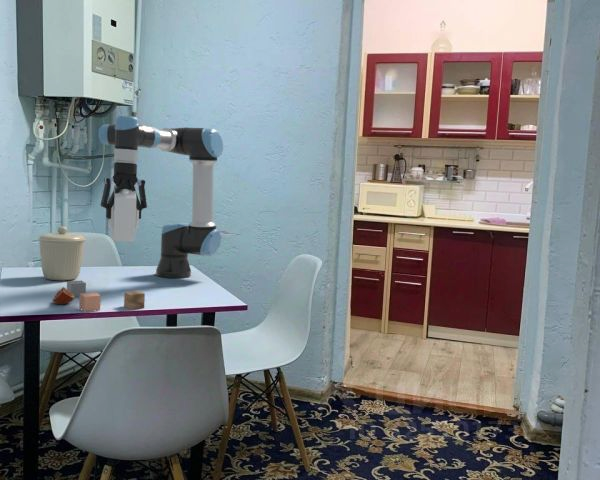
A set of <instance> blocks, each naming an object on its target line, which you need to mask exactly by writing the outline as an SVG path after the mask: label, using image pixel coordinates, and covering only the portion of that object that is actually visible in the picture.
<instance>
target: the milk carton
mask: <svg viewBox="0 0 600 480" xmlns="http://www.w3.org/2000/svg"><path fill="white" fill-rule="evenodd" d="M134 187H135V189H137V188H136V185H134ZM115 188H118V187H117V186H116V185H115V184H113V191H114V196H115V197H114V204H113V207H112V209H113V210H114V223H113V229H111V240H112V241H113V242H133V243H134V242H136V228H135V226H136V210H137V209H136V194H137V190H136V191H133V192H132V190H131V189H130V190H127V189H121V191H120V192H119V193H116V194H115Z"/></svg>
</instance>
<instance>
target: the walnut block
mask: <svg viewBox="0 0 600 480" xmlns="http://www.w3.org/2000/svg"><path fill="white" fill-rule="evenodd" d="M145 297H146V293H144V292H142V291H140V290H130V291H124V296H123V299H124V300H123V307H125V308H127V309H128V310H137V309H138V310H139V309H140V310H141V309H145V301H146V300H145Z"/></svg>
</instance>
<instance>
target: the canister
mask: <svg viewBox="0 0 600 480" xmlns="http://www.w3.org/2000/svg"><path fill="white" fill-rule="evenodd" d="M36 238H37V240H38V243H39V254H40V263H41V270H42V275H43V277H44V278H45V279H47V280H49V281H64V282H65V281H73V280H75V279H77V278H78V277H79V275H80V273H81V269H82V262H83V255H84V254H83V253H84V248H85V242H86V241H87V238H86V237H84V236H83V235H81V234H78V233H72V232H71V233H69V232H68V228H67V227H66V226H59V227H58V228H57V232H49V233H48V232H47V233H43V234H41V235H40V236H38V237H36Z"/></svg>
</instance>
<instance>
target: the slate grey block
mask: <svg viewBox="0 0 600 480" xmlns="http://www.w3.org/2000/svg"><path fill="white" fill-rule="evenodd" d="M66 289H67V290H68V291H69V292H71V293H72V294H73V295H74V297H76V298H80V293H87V292H86V291H87V282H85V281H83V280H66Z"/></svg>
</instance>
